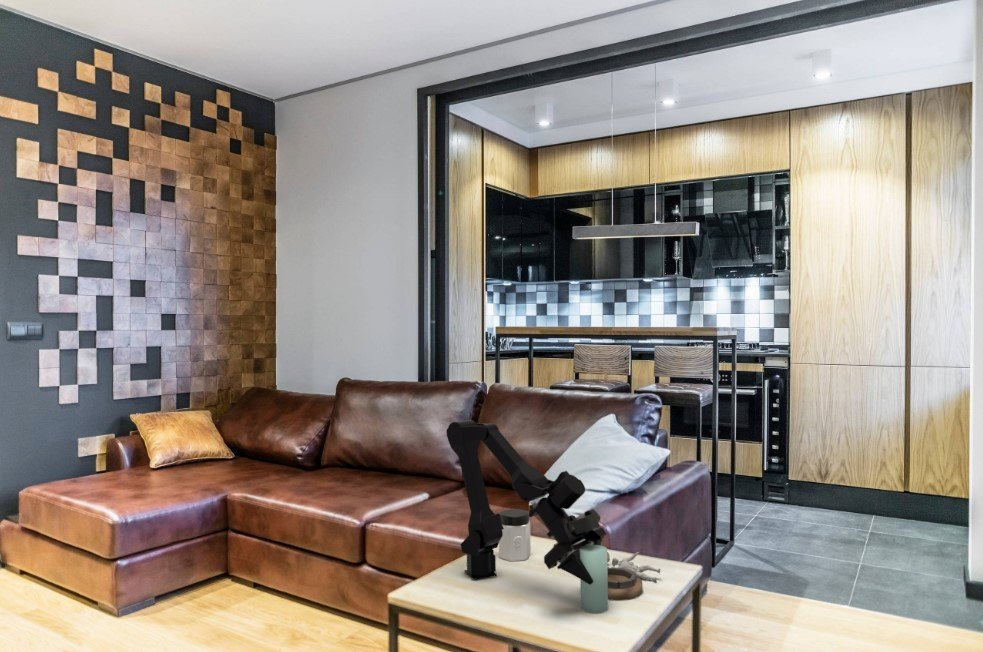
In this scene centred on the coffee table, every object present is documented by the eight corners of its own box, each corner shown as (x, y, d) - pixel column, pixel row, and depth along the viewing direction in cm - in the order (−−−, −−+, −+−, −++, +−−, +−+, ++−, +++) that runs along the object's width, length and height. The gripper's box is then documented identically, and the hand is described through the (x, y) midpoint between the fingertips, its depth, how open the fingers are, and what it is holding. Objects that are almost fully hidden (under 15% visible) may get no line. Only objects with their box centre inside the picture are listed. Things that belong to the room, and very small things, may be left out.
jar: (502, 562, 178) (501, 517, 179) (495, 553, 186) (495, 510, 187) (534, 559, 180) (533, 515, 180) (526, 550, 188) (526, 508, 188)
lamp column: (590, 615, 144) (589, 554, 144) (575, 605, 150) (574, 546, 150) (613, 610, 146) (612, 550, 147) (598, 600, 152) (597, 543, 152)
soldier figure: (650, 590, 160) (605, 567, 166) (650, 597, 164) (606, 575, 169) (663, 562, 164) (618, 541, 170) (662, 570, 168) (618, 549, 173)
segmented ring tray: (606, 604, 150) (606, 588, 150) (576, 584, 162) (576, 570, 162) (653, 594, 155) (653, 579, 155) (621, 576, 167) (621, 562, 167)
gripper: (554, 508, 144) (599, 570, 136) (598, 492, 158) (642, 547, 151) (525, 538, 149) (568, 600, 141) (571, 519, 163) (611, 575, 156)
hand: (599, 579), depth 147 cm, fingers closed on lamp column, 6 cm apart
